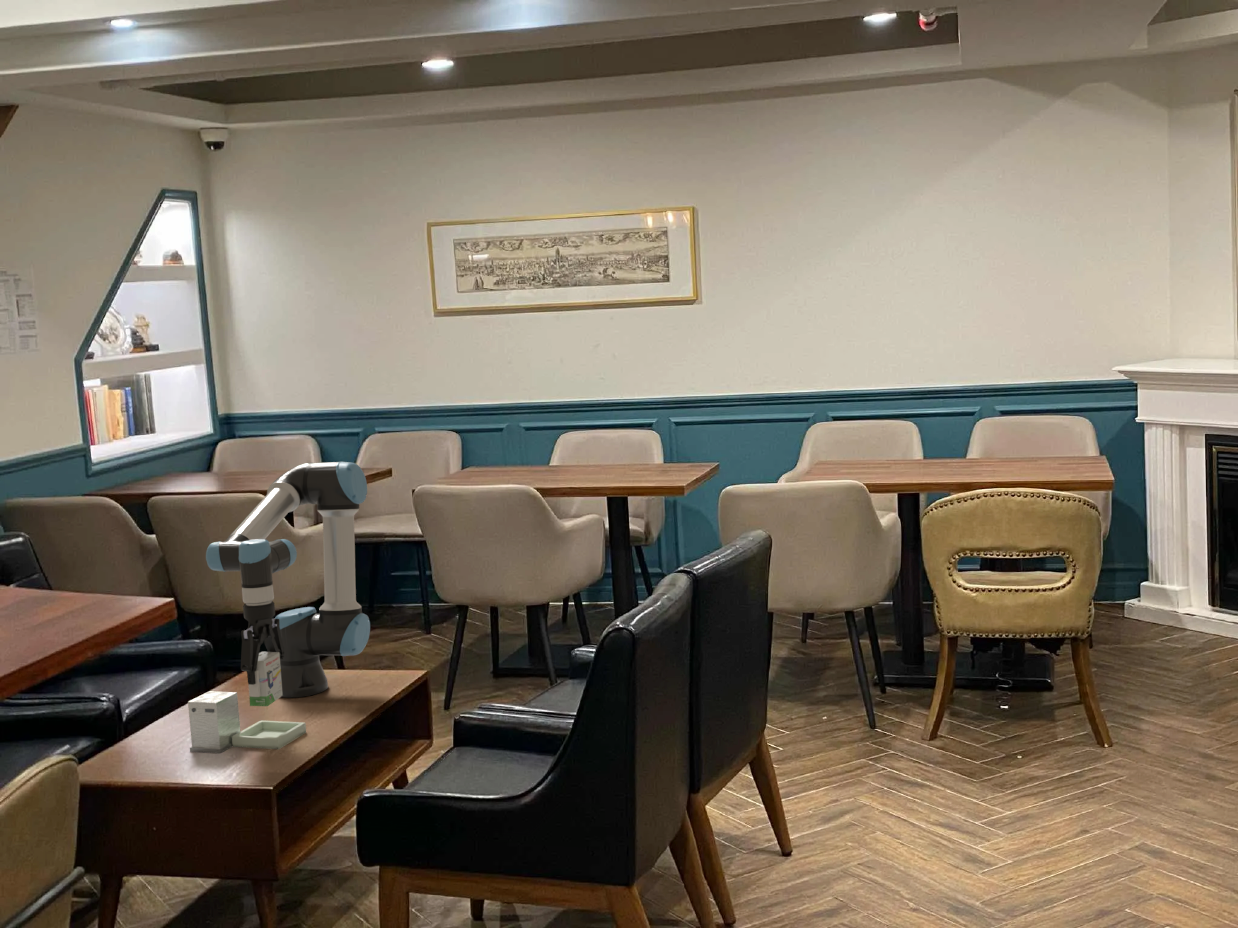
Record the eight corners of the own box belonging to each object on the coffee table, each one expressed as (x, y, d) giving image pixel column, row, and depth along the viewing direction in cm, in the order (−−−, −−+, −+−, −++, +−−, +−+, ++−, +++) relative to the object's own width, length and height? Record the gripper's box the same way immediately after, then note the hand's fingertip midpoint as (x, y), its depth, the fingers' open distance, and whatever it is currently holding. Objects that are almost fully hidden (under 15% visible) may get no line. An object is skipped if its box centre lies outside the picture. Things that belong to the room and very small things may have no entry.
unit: (213, 738, 333) (209, 690, 332) (243, 739, 330) (239, 691, 329) (190, 751, 324) (185, 702, 322) (220, 753, 321) (215, 703, 320)
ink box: (265, 695, 333) (261, 650, 332) (284, 696, 332) (279, 650, 331) (249, 706, 325) (244, 660, 324) (268, 706, 324) (264, 660, 323)
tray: (261, 729, 338) (260, 720, 338) (306, 732, 334) (305, 722, 334) (232, 746, 326) (231, 736, 325) (278, 749, 322) (277, 738, 321)
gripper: (269, 592, 337) (275, 678, 340) (220, 611, 317) (227, 702, 319) (294, 593, 335) (301, 679, 337) (247, 612, 315) (254, 703, 317)
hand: (265, 690), depth 328 cm, fingers closed on ink box, 9 cm apart
